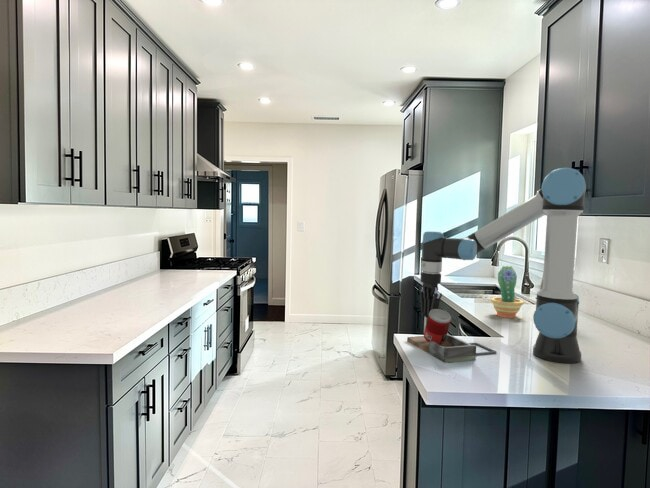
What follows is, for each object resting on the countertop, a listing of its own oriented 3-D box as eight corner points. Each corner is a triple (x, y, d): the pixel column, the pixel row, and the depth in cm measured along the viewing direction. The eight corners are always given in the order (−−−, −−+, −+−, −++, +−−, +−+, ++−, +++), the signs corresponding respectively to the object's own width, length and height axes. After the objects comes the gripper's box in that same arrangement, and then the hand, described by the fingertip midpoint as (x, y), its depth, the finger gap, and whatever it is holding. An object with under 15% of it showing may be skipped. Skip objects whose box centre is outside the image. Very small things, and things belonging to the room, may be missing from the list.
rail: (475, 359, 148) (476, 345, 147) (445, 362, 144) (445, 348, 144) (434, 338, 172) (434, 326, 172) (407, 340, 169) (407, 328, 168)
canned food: (444, 347, 158) (451, 323, 153) (422, 342, 159) (428, 318, 154) (444, 334, 164) (451, 311, 159) (423, 329, 166) (429, 306, 160)
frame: (497, 353, 155) (497, 351, 155) (472, 355, 152) (473, 354, 152) (476, 343, 167) (476, 342, 167) (453, 345, 164) (453, 344, 163)
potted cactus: (484, 314, 218) (486, 265, 216) (499, 310, 228) (501, 263, 226) (513, 320, 206) (516, 268, 205) (528, 316, 216) (531, 266, 215)
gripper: (413, 269, 169) (410, 329, 171) (431, 275, 156) (427, 338, 158) (430, 269, 171) (427, 328, 173) (449, 274, 159) (445, 337, 161)
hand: (427, 333), depth 166 cm, fingers closed
